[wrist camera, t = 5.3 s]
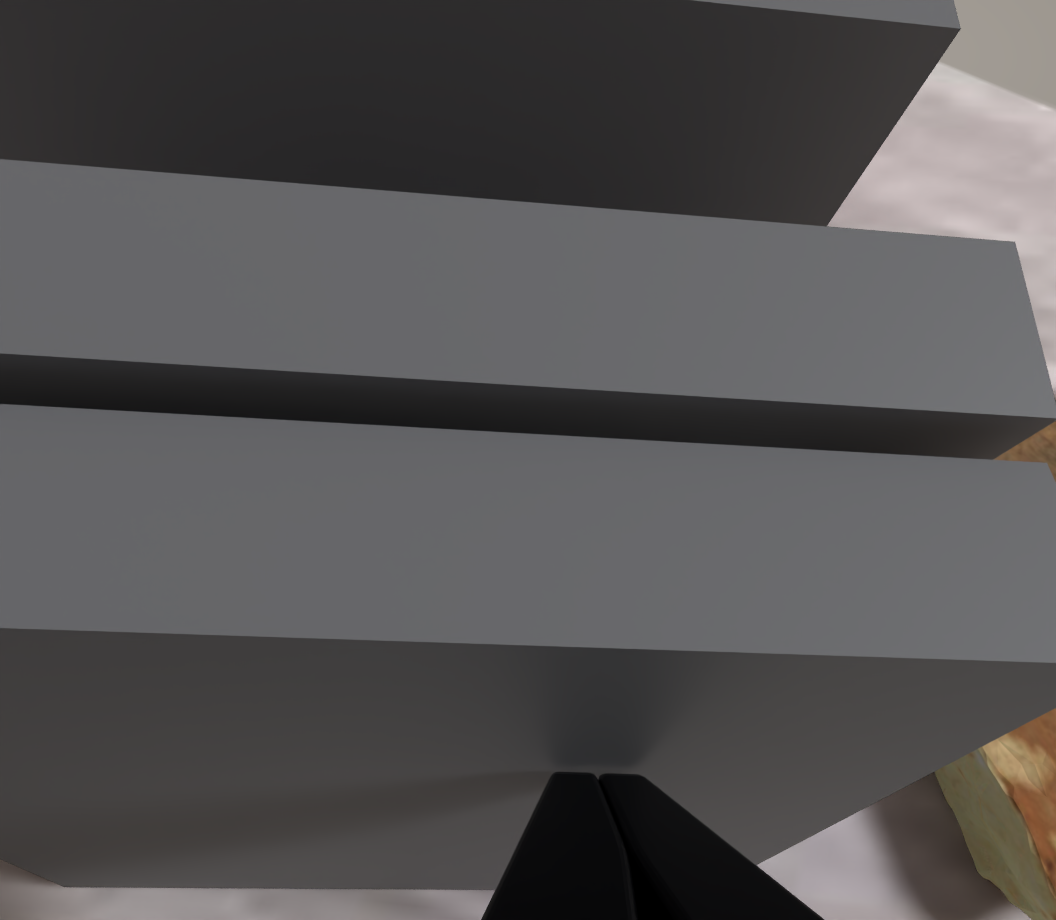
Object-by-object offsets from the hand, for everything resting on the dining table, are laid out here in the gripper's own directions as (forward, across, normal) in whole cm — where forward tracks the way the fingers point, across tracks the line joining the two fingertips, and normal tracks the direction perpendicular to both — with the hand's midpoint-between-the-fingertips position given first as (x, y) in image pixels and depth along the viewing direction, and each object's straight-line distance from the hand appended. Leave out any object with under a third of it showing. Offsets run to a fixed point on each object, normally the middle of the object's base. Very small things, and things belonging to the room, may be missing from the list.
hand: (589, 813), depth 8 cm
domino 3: (+10, -2, +1) cm, 11 cm away
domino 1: (+5, -2, -5) cm, 7 cm away
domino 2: (+8, -2, -2) cm, 8 cm away
